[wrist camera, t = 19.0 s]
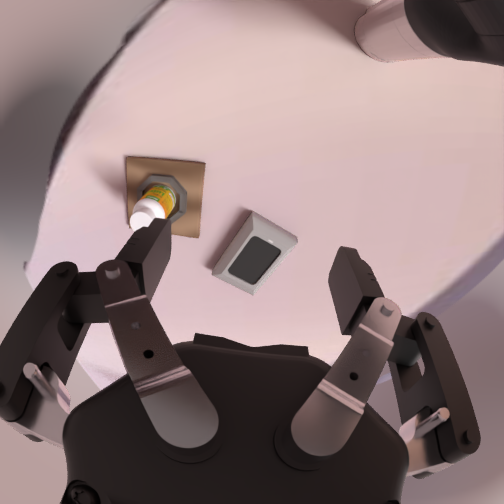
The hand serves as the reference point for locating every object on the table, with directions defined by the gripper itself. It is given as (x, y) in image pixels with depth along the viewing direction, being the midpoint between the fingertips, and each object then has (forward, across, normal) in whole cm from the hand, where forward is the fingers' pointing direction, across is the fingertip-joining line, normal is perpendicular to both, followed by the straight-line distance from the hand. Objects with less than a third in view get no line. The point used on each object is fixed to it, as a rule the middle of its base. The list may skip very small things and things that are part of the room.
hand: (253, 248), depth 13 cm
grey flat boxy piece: (+34, -2, +22) cm, 40 cm away
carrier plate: (+33, +15, +13) cm, 39 cm away
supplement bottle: (+32, +15, +13) cm, 38 cm away
